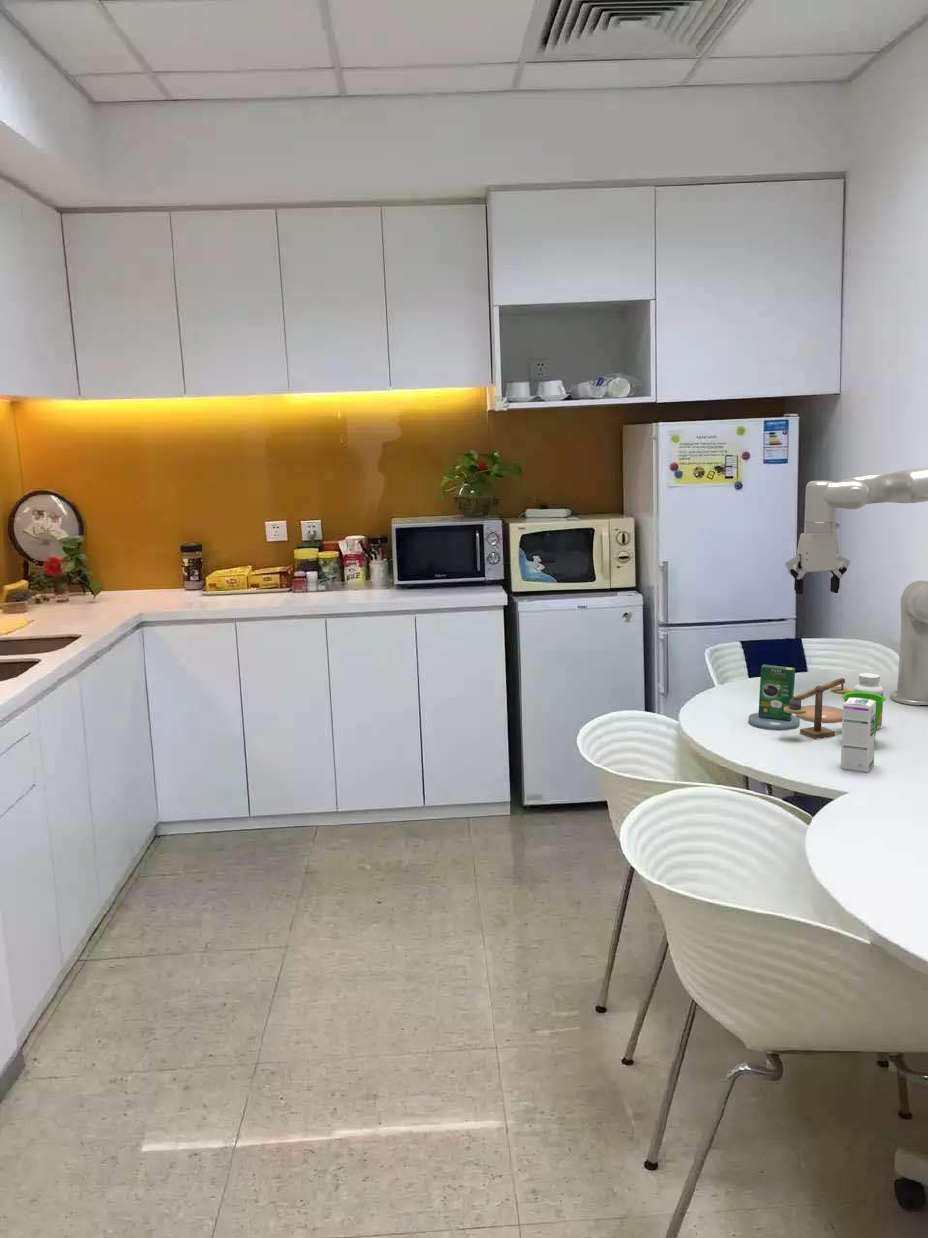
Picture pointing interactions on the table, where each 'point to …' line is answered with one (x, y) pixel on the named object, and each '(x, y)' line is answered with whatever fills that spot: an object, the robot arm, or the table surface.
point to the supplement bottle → (870, 688)
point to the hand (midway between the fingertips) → (816, 593)
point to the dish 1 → (773, 723)
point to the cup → (866, 695)
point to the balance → (816, 707)
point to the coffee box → (776, 691)
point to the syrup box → (858, 734)
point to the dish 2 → (828, 714)
